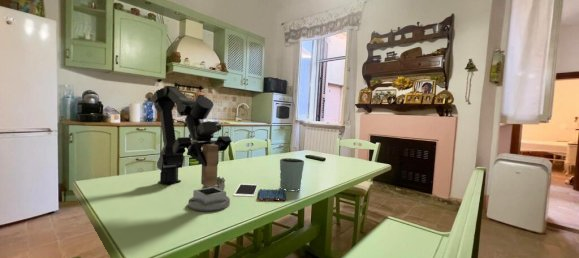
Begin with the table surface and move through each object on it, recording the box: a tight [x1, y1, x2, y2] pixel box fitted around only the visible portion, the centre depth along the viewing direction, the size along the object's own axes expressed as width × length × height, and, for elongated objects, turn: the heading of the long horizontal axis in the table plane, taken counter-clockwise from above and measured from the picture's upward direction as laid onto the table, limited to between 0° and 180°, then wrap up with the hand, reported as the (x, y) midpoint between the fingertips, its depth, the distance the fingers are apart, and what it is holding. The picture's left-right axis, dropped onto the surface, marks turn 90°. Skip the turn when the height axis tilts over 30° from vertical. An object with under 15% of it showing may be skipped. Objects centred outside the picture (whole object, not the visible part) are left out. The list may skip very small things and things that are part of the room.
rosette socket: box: [187, 187, 231, 213], centre depth 84 cm, size 13×13×4 cm
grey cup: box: [279, 157, 305, 191], centre depth 108 cm, size 10×10×12 cm
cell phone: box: [232, 183, 259, 198], centre depth 103 cm, size 8×16×1 cm, turn 1°
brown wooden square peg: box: [200, 144, 219, 188], centre depth 84 cm, size 4×4×13 cm
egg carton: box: [206, 176, 226, 191], centre depth 105 cm, size 11×8×4 cm
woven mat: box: [256, 188, 287, 202], centre depth 96 cm, size 10×11×2 cm
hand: (211, 165), depth 83 cm, fingers closed on brown wooden square peg, 4 cm apart
